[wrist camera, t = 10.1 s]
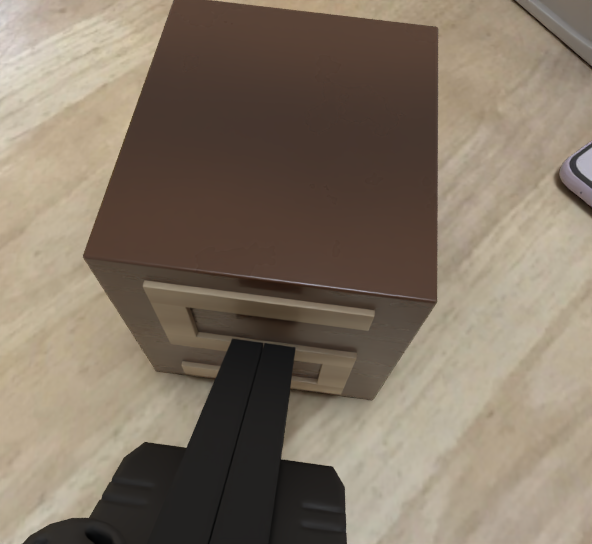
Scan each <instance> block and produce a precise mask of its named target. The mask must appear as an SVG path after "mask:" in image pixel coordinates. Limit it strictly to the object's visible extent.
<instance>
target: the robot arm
mask: <svg viewBox="0 0 592 544" xmlns="http://www.w3.org/2000/svg"><path fill="white" fill-rule="evenodd" d="M295 349H296V347H290V346H283V345H276V344H269V343H264V346H263V343H261V342H254V341H247V340H239V339H232V340H231V343H230V345H229V347H228V350H227V352H226V355H225V357H224V359H223V362H222V364H221V367H220V369H219V371H218V374H217V376H216V379H215V381H214V383H213V386H212V388H211V391H210V393H209V395H208V398H207V400H206V403H205V405H204V407H203V410H202V412H201V415H200V417H199V419H198V422H197V424H196V427H195V429H194V431H193V434H192V436H191V439H190V441H189V443H188V446H187V448H183V447H176V446H169V445H162V444H155V443H148V442H144V443H143V444H142V445H140V446H139V447H138V448H136V449H135V450H134V451H132V452H131V453H130V454H128V455H127V456H126V457H124V459H123V460H122V462H121V464H120V466H119V467H118V469H117V471H116V472H115V474H114V476H113V478H112V482H110V483H109V485H108V486H107V488H106V490H105V491H104V493H103V495H102V499H101V500H99V502H98V503H97V505H96V507H95V509H94V510H93V512H92V514H91V515H90V517H89V518H71V519H67V520H64V521H60V522H56V523H53V524H50V525H48V526H46V527H44V528H43V529H41V530H39V531H37V532H36V533H34V534H32V535H30V536H29V537H28V538H27V539H26V540H25V542H24V543H23V544H347V537H346V514H345V487H344V485H343V483H342V482H341V480H340V478H339V476H338V475H337V473H336V471H335V470H334V468H333V467H331V466H324V465H317V464H310V463H303V462H296V461H289V460H282V459H281V454H282V447H283V440H284V432H285V425H286V417H287V410H288V402H289V395H290V387H291V380H292V372H293V364H294V357H295Z"/></svg>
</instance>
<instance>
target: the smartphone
mask: <svg viewBox="0 0 592 544" xmlns="http://www.w3.org/2000/svg"><path fill="white" fill-rule="evenodd" d="M559 175H560V178H561V180H562V182H563V183H564V184H565V185H566V186H567V187H568V188H569V189H570V190H571V191H573V192H574V193H575V194H576V195H578V196H579V197H580V198H581V199H583V200H584V201H585V202H586V203H587V204H589V205H590V206H591V207H592V141H590V142H589V143H588V144H586V145H585V146H584V147H582V148H581V149H579V150H578V151H577V152H575V153H574V154H573V155H571V156H570V157H568V158H567V159H566V160H565V161H564V162H563V164H562V166H561V168H560V172H559Z"/></svg>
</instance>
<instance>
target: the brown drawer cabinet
mask: <svg viewBox="0 0 592 544" xmlns="http://www.w3.org/2000/svg"><path fill="white" fill-rule="evenodd" d="M437 211H438V27H433V26H425V25H416V24H408V23H399V22H391V21H382V20H374V19H365V18H357V17H348V16H340V15H331V14H323V13H314V12H305V11H297V10H288V9H280V8H271V7H263V6H254V5H246V4H237V3H229V2H220V1H212V0H174V1H173V4H172V7H171V9H170V12H169V15H168V18H167V21H166V23H165V26H164V29H163V32H162V35H161V38H160V40H159V43H158V46H157V49H156V52H155V54H154V57H153V60H152V63H151V66H150V68H149V71H148V74H147V77H146V80H145V83H144V85H143V88H142V91H141V94H140V97H139V99H138V102H137V105H136V108H135V111H134V114H133V116H132V119H131V122H130V125H129V128H128V130H127V133H126V136H125V139H124V142H123V144H122V147H121V150H120V153H119V156H118V159H117V161H116V164H115V167H114V170H113V173H112V175H111V178H110V181H109V184H108V187H107V189H106V192H105V195H104V198H103V201H102V204H101V206H100V209H99V212H98V215H97V218H96V220H95V223H94V226H93V229H92V232H91V235H90V237H89V240H88V243H87V246H86V249H85V251H84V254H83V258H84V260H85V261H86V263H87V264H88V266H89V267H90V269H91V271H92V272H93V274H94V275H95V277H96V278H97V280H98V281H99V283H100V285H101V286H102V288H103V289H104V291H105V292H106V294H107V295H108V297H109V299H110V300H111V302H112V303H113V305H114V306H115V308H116V309H117V311H118V313H119V314H120V316H121V317H122V319H123V320H124V322H125V323H126V325H127V327H128V328H129V330H130V331H131V333H132V334H133V336H134V337H135V339H136V341H137V342H138V344H139V345H140V347H141V348H142V350H143V351H144V353H145V355H146V356H147V358H148V359H149V361H150V362H151V364H152V365H153V367H154V369H155V370H156V371H161V372H169V373H176V374H184V375H191V376H198V377H206V378H213V379H216V376H217V374H218V371H219V369H220V367H221V364H222V362H223V359H224V357H225V355H226V352H227V350H228V347H229V345H230V343H231V340H232V339H239V340H247V341H254V342H261V343H263V346H264V343H269V344H276V345H283V346H290V347H296V349H295V357H294V364H293V372H292V380H291V387H290V389H295V390H303V391H310V392H318V393H325V394H333V395H340V396H347V397H355V398H362V399H370V400H373V399H374V398H375V396H376V395H377V393H378V392H379V390H380V388H381V387H382V385H383V384H384V382H385V381H386V379H387V378H388V376H389V375H390V373H391V372H392V370H393V369H394V367H395V366H396V364H397V363H398V361H399V360H400V358H401V356H402V355H403V353H404V352H405V350H406V349H407V347H408V346H409V344H410V343H411V341H412V340H413V338H414V337H415V335H416V334H417V332H418V331H419V329H420V327H421V326H422V324H423V323H424V321H425V320H426V318H427V317H428V315H429V314H430V312H431V311H432V309H433V308H434V306H435V305H436V303H437Z"/></svg>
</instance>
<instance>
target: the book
mask: <svg viewBox="0 0 592 544" xmlns="http://www.w3.org/2000/svg"><path fill="white" fill-rule="evenodd" d="M515 1H517V2H518V3H519V4H520V5H521V6H522V7H524V8H525V9H526V10H527V11H528V12H529V13H531V14H532V15H533V16H534V17H535V18H536V19H538V20H539V21H540V22H541V23H542V24H543V25H544V26H546V27H547V28H548V29H549V30H550V31H551V32H553V33H554V34H555V35H556V36H557V37H558V38H560V39H561V40H562V41H563V42H564V43H565V44H567V45H568V46H569V47H570V48H571V49H572V50H573V51H575V52H576V53H577V54H578V55H579V56H580V57H582V58H583V59H584V60H585V61H586V62H587V63H589V64H590V65H591V66H592V0H515Z"/></svg>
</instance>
